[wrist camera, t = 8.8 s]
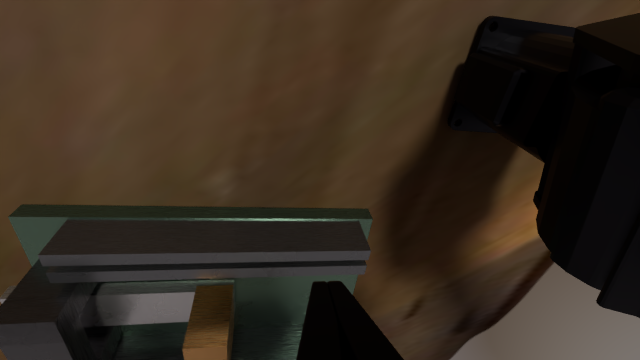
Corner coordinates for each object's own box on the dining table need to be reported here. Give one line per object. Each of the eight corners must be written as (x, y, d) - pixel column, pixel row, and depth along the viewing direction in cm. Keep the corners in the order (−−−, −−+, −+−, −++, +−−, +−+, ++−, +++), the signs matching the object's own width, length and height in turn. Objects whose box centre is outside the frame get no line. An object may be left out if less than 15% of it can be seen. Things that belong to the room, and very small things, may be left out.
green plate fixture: (368, 208, 23) (397, 274, 18) (338, 325, 31) (353, 396, 25) (21, 204, 19) (-69, 287, 14) (81, 341, 26) (37, 429, 21)
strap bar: (234, 273, 23) (226, 346, 18) (235, 312, 25) (228, 385, 20) (6, 279, 20) (-69, 366, 16) (30, 322, 22) (-30, 409, 18)
